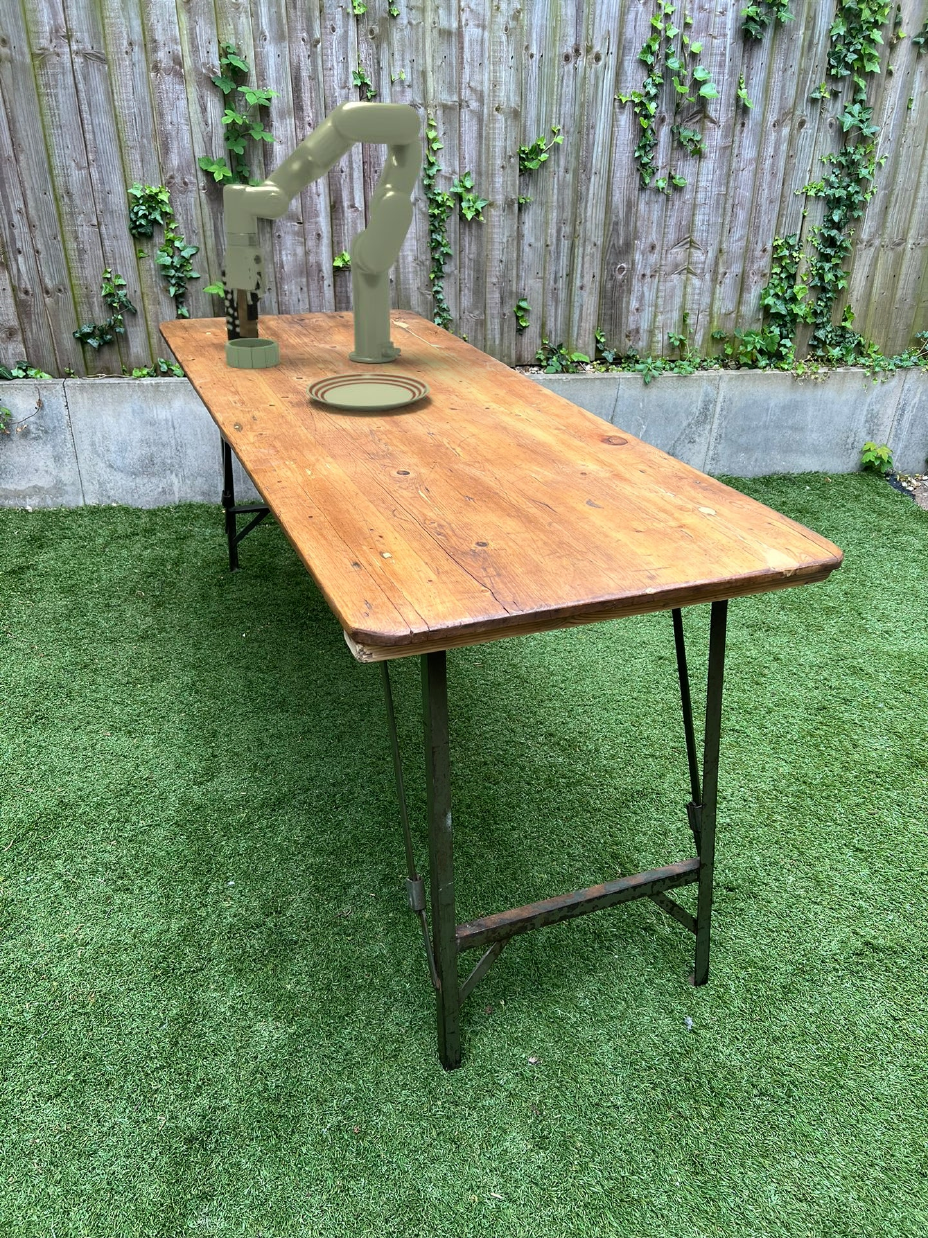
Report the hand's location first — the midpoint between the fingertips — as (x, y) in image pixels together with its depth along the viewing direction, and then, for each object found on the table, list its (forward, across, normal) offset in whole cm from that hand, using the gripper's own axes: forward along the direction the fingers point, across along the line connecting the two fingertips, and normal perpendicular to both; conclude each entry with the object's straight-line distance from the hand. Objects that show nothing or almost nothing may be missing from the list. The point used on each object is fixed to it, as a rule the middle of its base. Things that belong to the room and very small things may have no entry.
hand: (247, 318), depth 229 cm
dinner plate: (+11, -47, +10) cm, 50 cm away
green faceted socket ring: (+11, 0, 0) cm, 11 cm away
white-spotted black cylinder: (+11, +16, -12) cm, 23 cm away
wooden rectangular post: (+4, 0, 0) cm, 4 cm away
